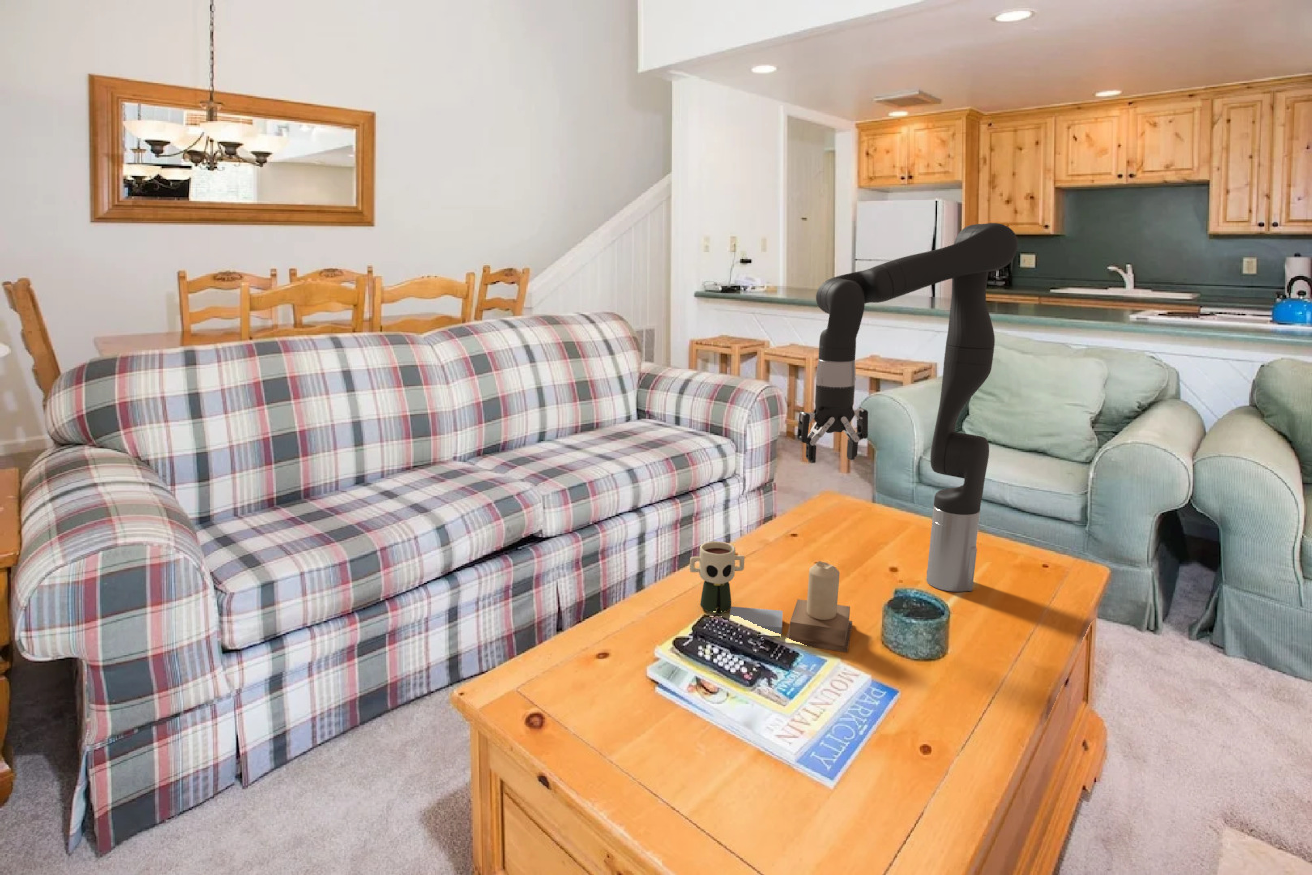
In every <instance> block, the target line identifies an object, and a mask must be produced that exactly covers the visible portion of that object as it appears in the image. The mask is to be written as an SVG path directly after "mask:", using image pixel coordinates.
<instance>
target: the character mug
mask: <svg viewBox="0 0 1312 875" xmlns="http://www.w3.org/2000/svg"><path fill="white" fill-rule="evenodd" d="M736 561H739V562H738V563H739V564H738V566H736ZM695 562H699V567H695V566H696V564H695ZM744 569H745V556H744V555H742V554H740V555H739V554H738V555H736V547H735V546H734V545H733V544H731V543H728V542H725V541H707V542H703V543H702V544H701V545H700V547H699V556H691V557H690V559H689V570H690V571H689V572H690V573H698V574H699V577H700V578H701V579H702V581H703V586H702V591H701V597H700V607H701V608H702V610H704V611H706V612H709V613H713V611H716V612H717V610H718V609H720V612H721V611H722V612H721V613H725V612H728V611H730V610H731V606H732V594H731V593H732V592H731V585H730V582H731V581H732V580H733V579H734V577H735V574H736V573H735V572H742V571H744Z"/></svg>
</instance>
